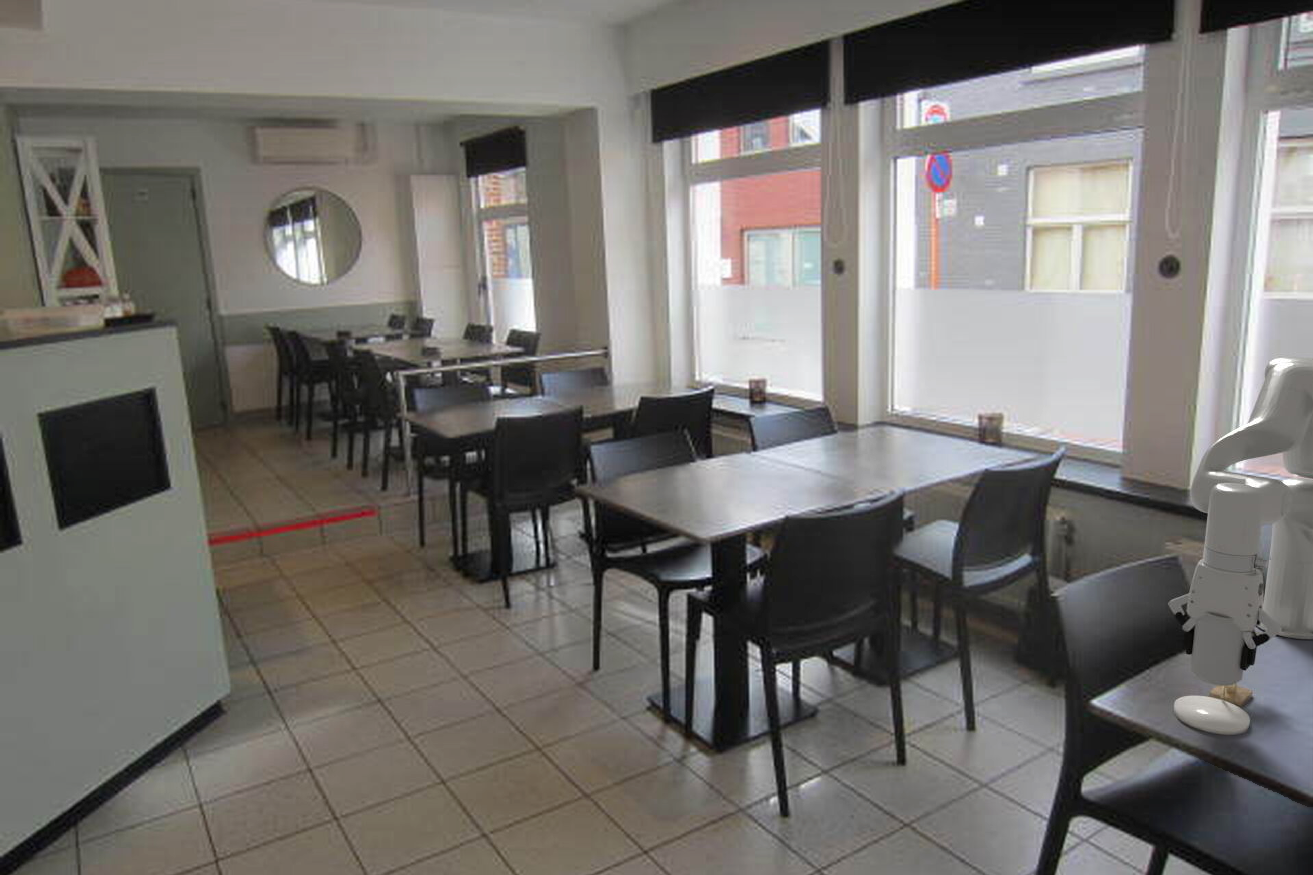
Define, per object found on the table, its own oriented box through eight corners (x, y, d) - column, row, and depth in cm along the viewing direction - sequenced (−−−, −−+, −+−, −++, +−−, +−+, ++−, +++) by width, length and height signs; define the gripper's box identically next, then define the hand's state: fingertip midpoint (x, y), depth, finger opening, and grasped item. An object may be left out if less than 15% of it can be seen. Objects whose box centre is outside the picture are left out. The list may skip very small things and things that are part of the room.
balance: (1226, 676, 170) (1234, 607, 168) (1263, 687, 166) (1272, 616, 163) (1201, 701, 162) (1209, 629, 159) (1239, 713, 157) (1249, 639, 154)
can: (1249, 689, 150) (1258, 620, 148) (1199, 686, 152) (1207, 617, 149) (1231, 669, 157) (1239, 603, 155) (1183, 665, 159) (1190, 600, 156)
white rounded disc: (1186, 695, 164) (1187, 689, 163) (1257, 717, 156) (1258, 711, 156) (1163, 717, 156) (1164, 711, 156) (1237, 742, 148) (1238, 735, 148)
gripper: (1299, 566, 146) (1284, 669, 150) (1179, 542, 159) (1169, 637, 163) (1285, 578, 141) (1271, 684, 145) (1163, 552, 154) (1153, 650, 158)
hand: (1217, 658), depth 154 cm, fingers closed on can, 7 cm apart
